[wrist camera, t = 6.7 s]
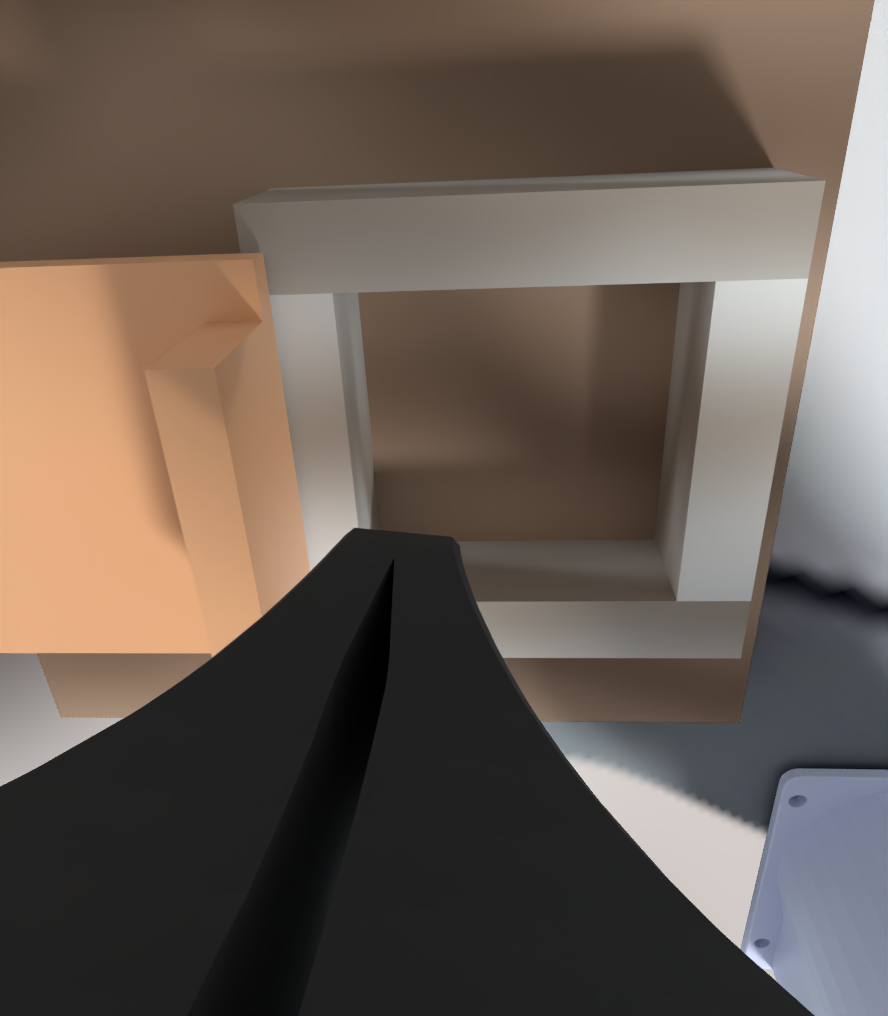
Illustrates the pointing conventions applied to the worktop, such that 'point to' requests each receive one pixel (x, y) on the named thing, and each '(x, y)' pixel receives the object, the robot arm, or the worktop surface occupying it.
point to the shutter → (142, 455)
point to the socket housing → (482, 287)
